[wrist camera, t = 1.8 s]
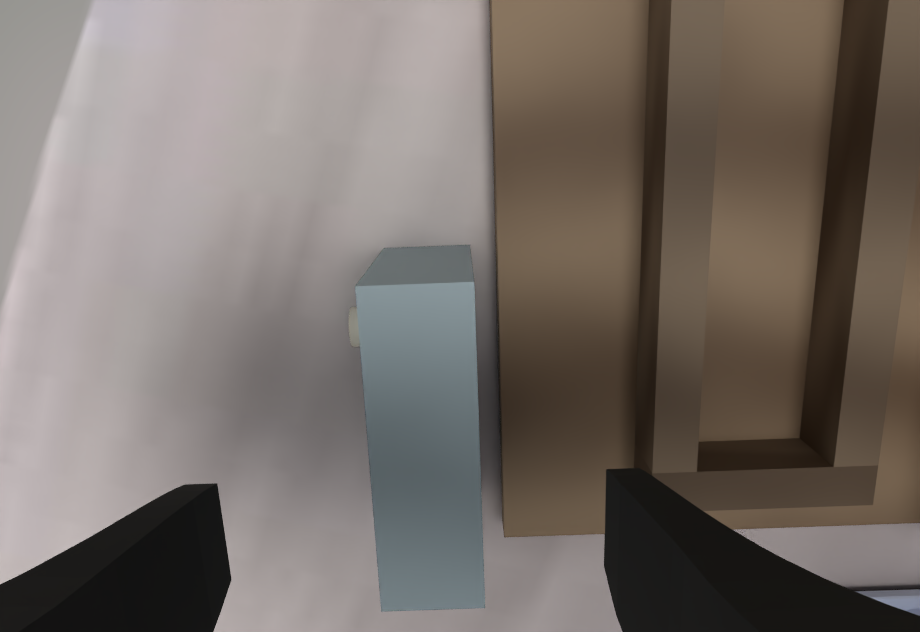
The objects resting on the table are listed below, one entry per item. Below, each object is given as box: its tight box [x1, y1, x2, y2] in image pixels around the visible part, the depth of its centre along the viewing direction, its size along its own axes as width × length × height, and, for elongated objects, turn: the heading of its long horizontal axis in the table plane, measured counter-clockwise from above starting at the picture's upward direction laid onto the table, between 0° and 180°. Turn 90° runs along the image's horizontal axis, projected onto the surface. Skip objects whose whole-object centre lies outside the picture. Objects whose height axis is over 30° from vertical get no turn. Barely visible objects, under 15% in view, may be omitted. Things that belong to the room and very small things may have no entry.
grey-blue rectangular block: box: [349, 245, 485, 612], centre depth 17 cm, size 8×3×6 cm, turn 2°
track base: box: [490, 0, 920, 537], centre depth 16 cm, size 22×14×5 cm, turn 2°
